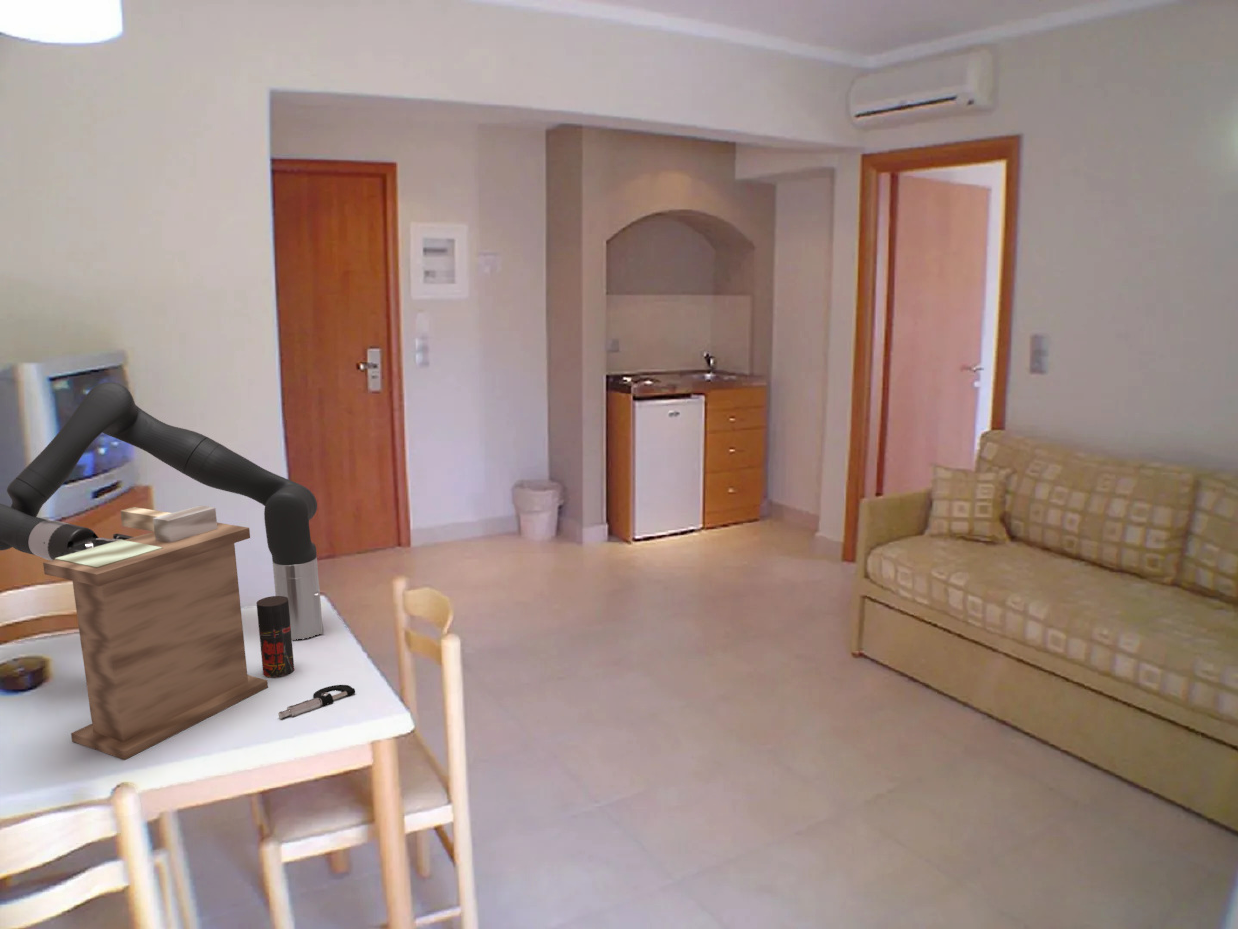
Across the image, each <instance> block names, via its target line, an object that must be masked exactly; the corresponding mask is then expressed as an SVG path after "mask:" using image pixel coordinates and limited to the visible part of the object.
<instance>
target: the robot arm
mask: <svg viewBox="0 0 1238 929" xmlns="http://www.w3.org/2000/svg"><path fill="white" fill-rule="evenodd" d="M102 433H103V434H105V435H107V436H109V437H111V438H113V439H117V440H119V441H121V442H124V443H127V444H129V445H132V446H133V447H136V448H138V449H141V450H142V451H144V452H147V453H148V454H150V455H151V456H153V457H154V458H155V459H158V460H159V461H161V462H162V463H164V464H166V465H168V466H170V468H172V469H175V470H176V471H177V472H180V473H182V474H183V475H185V476H187V477H189V478H191V479H192V480H194V481H196V482H199V483H200V484H203V485H205V486H207V487H209V488H213V489H217V490H220V491H223V492H227V493H228V492H229V493H231V494H235V495H241V496H244V497H247V498H249V499H251V500H253V501H254V502H255V501H256V502H257V503H259V504H260V505H262V506H264V511H263V512H264V513H263V514H264V515H263V517H264V518H263V520H264V526H265V528H264V529H265V534H266V542H267V547H268V551H269V553H270V555H271V559H272V571H273V584H274V592H275V593H274V594H275V595H274V596H284V597H287V598H288V602H289V613H290V625H291V637H292V641H298V639H302V640H304V639H303V638H307V639H310V638H309V637H311V638H313V636H314V637H316V636H315V635H317V636H320V635H319V634H322V633H323V627H322V625H323V615H322V613H323V612H322V601H321V590H320V589H321V588H320V583H319V582H320V581H319V570H318V569H319V568H318V557H317V556H318V555H317V547H316V544H315V543H314V542H312V537H311V530H310V521H311V520H312V519H313V517H314V516H315V515H316V513H317V511H318V502H317V498H316V497H315V494H314V493H313V492H312V491H311V490H310V489H309V488H307V487H305V486H304V485H303V484H300V483H298V482H295V481H293V480H291V479H288V478H286V477H282V476H281V475H278V474H276V473H273V472H271V471H269V470H267V469H265V468H263V467H261V466H259V465H258V464H256V463H254V462H253V461H251V460H250V459H247V458H246V457H244V456H242V455H241V454H239V453H237V452H235V451H233V450H231V449H229V448H228V447H226V446H225V445H223V444H221V443H219V442H218V441H216V440H214V439H212V438H210V437H208V436H206V435H205V434H204V435H203V434H202V433H199V432H197V431H193V430H189V429H186V428H183V427H178V426H173V425H170V424H168V423H166V422H163V421H161V420H160V419H158V418H156V417H154V416H152V415H151V414H149V413H148V412H147V411H144V410H143V409H142V408H140V407H139V406H138V405H137V404H136V402H135V400H134V396H133V395H132V393H131V392H130V390H129V389H128V388H127V387H126V386H125V385H123V384H121V383H119V382H115V381H109V382H101V383H99V384H96V385H95V386H94V387H92V388H91V389H90V390H89V391H88V392H87V393H86V395H85V396H84V397H83V398H82V401H81V402H80V404H79V405H78V406H77V408H75V410H74V412H73V413H72V415H71V416H70V417H69V419H68V420H67V421H66V423H65V424H64V425H63V426H62V428H61V429H60V430H59V431H58V433H57V434H56V435H55V437H53V439H52V440H51V441H50V442H49V443H48V444H47V446H46V447H44V449H43V450H42V451H41V452H40V453H39V454H38V455H37V456H36V457H35V458H34V459H33V460H32V461H31V462H30V463H29V464H28V465H27V466H26V467H25V468H24V469H23V470H22V471H21V472H20V473H19V474H18V475H17V476H16V477H15V478H14V479H13V480H12V481H11V482H10V483H9V485H8V486H7V487H6V488H7V489H6V493H7V494H8V496H9V497H10V499H11V502H12V503H11V505H10V506H8V505H5V504H3V503H0V551H7V550H9V549H11V548H13V549H15V550H16V551H19V552H22V553H25V554H29V555H33V556H37V557H40V558H42V559H44V560H47V561H51V560H54V559H55V558H57V557H61V556H64V555H68V554H72V553H75V552H79V551H82V550H86V549H90V548H93V547H97V546H100V545H104V544H108V543H111V542H115V541H118V540H126V539H130V538H133V537H134V536H132V535H126V534H122V533H121V534H120V533H114V534H113V536H112V538H106V537H99V536H98V535H97V534H96V533H95V531H94V530H93V529H91V528H89V527H85V526H81V525H76V524H72V523H68V522H63V521H59V520H49V519H45V518H41V517H38V514H39V513H40V510H41V509H42V506H44V504H46V502H47V501H48V500H49V499H50V498H51V497H52V496H53V495H54V494H55V493H56V492H57V491H58V490H59V489H60V488H61V487H62V486H63V484H64V483H65V482H66V481H67V479H68V478H69V476H70V475H72V473H73V471H74V470H75V468H76V467H77V464H78V463H79V462H80V459H81V458H82V456H83V455H84V454H85V451H86V450H87V449H88V448H89V447H90V445H91V444H92V443H93V442H94V441H95V440H96V439H97V438H98V437H99V436H100V435H101V434H102ZM322 635H323V634H322ZM296 639H297V640H296Z"/></svg>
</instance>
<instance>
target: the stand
mask: <svg viewBox="0 0 1238 929" xmlns="http://www.w3.org/2000/svg"><path fill="white" fill-rule="evenodd" d="M132 537H133V538H130V539H126V540H118V541H115V542H111V543H108V544H104V545H100V546H97V547H93V548H90V549H86V550H82V551H79V552H75V553H72V554H68V555H64V556H61V557H57V558H55V559H54V560H51V561H50V560H47V561H44V562H43V563H42V566H43V571H44V572H43V573H44V575H47V576H50V577H55V578H60V579H64V580H68V581H69V580H70V581H72V587H73V596H74V601H75V602H74V603H75V610H76V615H77V617H76V618H77V624H78V632H79V639H80V645H81V653H82V660H83V661H82V662H83V667H84V674H85V675H84V676H85V682H86V683H85V684H86V689H87V696H88V704H89V712H90V717H91V723H90V724H88V725H86V726H83V727H82V728H79V729H77V730H75V731H72V732H71V733H70V736H71V742H73V743H77V744H79V745H82V746H84V747H87V748H90V749H93V750H96V751H99V752H101V753H104V754H108V755H111V756H113V757H116V758H118V759H122V760H123V761H126V760H128V759H129V758H132V757H133V756H136V755H138V754H139V753H141V752H144V751H145V750H147V749H149V748H151V747H153V746H156V745H157V744H160V743H161V742H163V741H166V740H168V739H169V738H171V737H173V736H175V735H177V734H178V733H181V732H183V731H185V730H187V729H189V728H191V727H192V726H194V725H197V724H198V723H200V722H202V721H205V720H207V719H208V718H211V717H212V716H214V715H217V714H218V713H220V712H222V711H224V710H227V709H228V708H230V707H232V706H234V705H236V704H239V703H240V702H242V701H244V700H246V699H248V698H250V697H252V696H254V695H256V694H257V693H261V692H262V691H263V690H265V689H267V688H269V684H268V680H267V679H264V678H261V677H257V676H252V675H249V674H248V668H247V659H246V657H247V656H246V649H245V648H246V647H245V639H244V637H245V636H244V628H243V618H242V608H241V597H240V596H241V595H240V586H239V578H238V565H237V557H236V548H235V547H236V546H235V544H236V543H239V542H242V541H245V540H248V539H251V531H250V527H247V526H240V525H234V524H228V523H222V522H217V529H214V530H211V531H207V532H204V533H201V534H197V535H194V536H191V537H187V538H184V539H181V540H177V541H174V542H171V543H170V542H165V541H159V540H155V532H153V531H150V532H149V533H145V534H141V535H136V536H132Z"/></svg>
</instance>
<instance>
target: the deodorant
mask: <svg viewBox="0 0 1238 929" xmlns="http://www.w3.org/2000/svg"><path fill="white" fill-rule="evenodd" d="M256 613H257V623H258V633H259V634H258V635H259V642H260V644H259V645H260V653H261V654H260V655H261V664H262V665H261V666H262V675H263V676H264V677H266V678H268V679H275V678H276V679H278V678H283V677H286V676H290V675H291V674H292V673H293V672H294V671H295V663H294V662H295V660H294V651H293V649H294V648H293V640H292V637H291V625H290V613H289V602H288V598H287V597H284V596H276V595H272V596H267V597H263V598H261V599H259V600H257V602H256Z"/></svg>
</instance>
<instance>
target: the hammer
mask: <svg viewBox="0 0 1238 929" xmlns="http://www.w3.org/2000/svg"><path fill="white" fill-rule="evenodd" d="M216 509H217V508H216V507H213V506H206V505H197V506H193V507H190V508H186V509H182V510H179V511H175V512H167V511H162V510H157V509H148V508H143V507H142V508H141V507H137V506H136V507H135V506H134V507H129V508H126V509H121V510H119V511H120V520H121V527H124V528H125V527H126V528H130V529H131V528H132V529H137V530H142V531H146V532H147V531H149V532H155V540H159V541H165V542H170V543H171V542H174V541H177V540H181V539H184V538H187V537H191V536H194V535H197V534H201V533H204V532H207V531H211V530H214V529H217V523H218V520H217V510H216Z"/></svg>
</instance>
